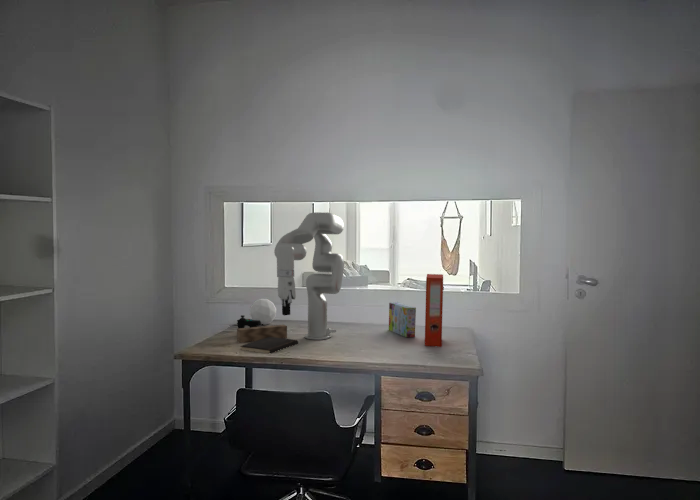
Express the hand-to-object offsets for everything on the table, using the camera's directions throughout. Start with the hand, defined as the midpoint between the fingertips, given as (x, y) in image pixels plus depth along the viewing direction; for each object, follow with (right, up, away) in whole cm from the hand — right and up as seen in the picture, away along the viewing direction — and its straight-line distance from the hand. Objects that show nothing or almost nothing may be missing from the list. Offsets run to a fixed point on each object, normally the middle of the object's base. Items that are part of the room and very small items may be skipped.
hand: (286, 314), depth 257 cm
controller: (-23, -15, +36) cm, 45 cm away
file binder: (+68, -16, +23) cm, 74 cm away
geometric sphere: (-20, -13, +68) cm, 72 cm away
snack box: (+55, -15, +44) cm, 72 cm away
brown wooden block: (-15, -15, +27) cm, 34 cm away
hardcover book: (-9, -17, +12) cm, 22 cm away
